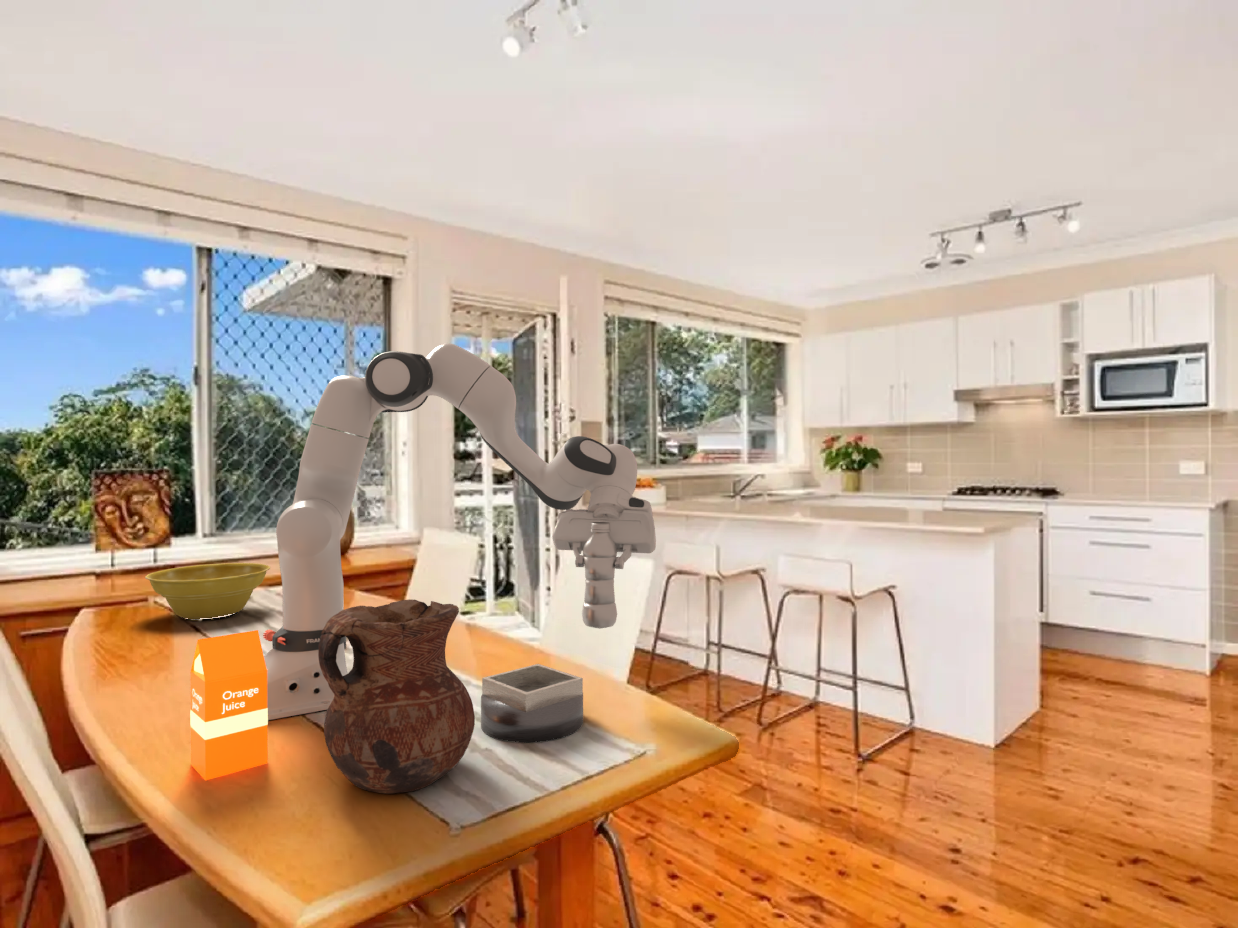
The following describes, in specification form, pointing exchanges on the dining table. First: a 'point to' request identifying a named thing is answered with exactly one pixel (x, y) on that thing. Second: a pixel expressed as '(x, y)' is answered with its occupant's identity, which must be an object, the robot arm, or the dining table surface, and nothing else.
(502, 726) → the disc with square tube
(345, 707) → the jug
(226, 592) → the planter bowl
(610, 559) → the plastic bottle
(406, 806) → the dining table surface
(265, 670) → the orange juice
